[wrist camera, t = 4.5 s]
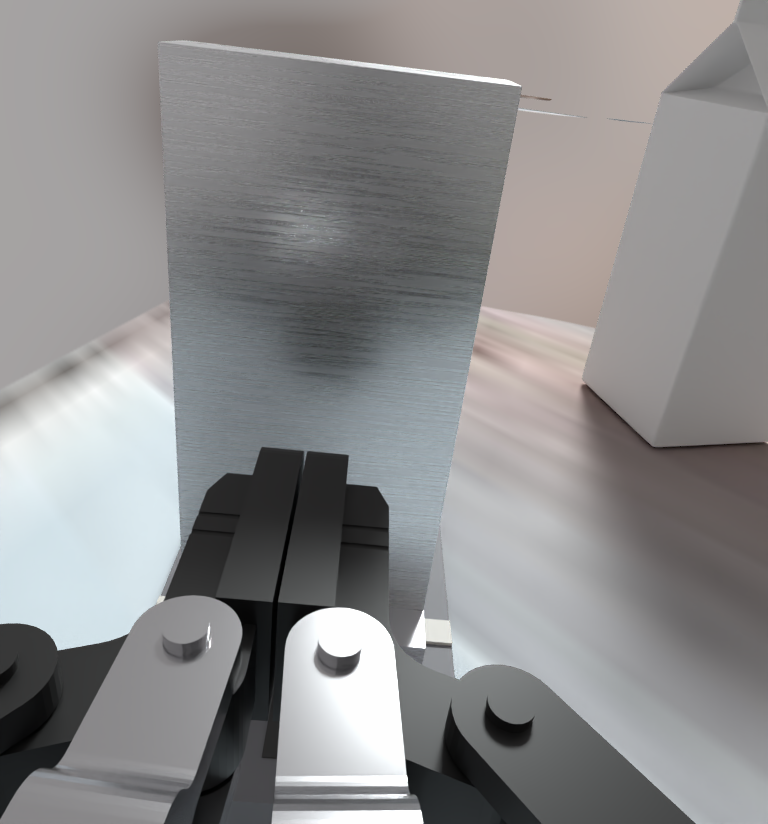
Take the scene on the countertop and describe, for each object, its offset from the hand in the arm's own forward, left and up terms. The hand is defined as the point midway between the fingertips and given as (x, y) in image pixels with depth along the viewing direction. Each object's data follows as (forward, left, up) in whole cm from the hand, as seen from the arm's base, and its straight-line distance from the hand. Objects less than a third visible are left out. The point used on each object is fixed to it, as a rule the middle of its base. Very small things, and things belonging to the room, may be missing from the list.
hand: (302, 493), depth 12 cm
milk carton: (-24, -15, -9) cm, 30 cm away
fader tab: (-1, -3, -7) cm, 8 cm away
